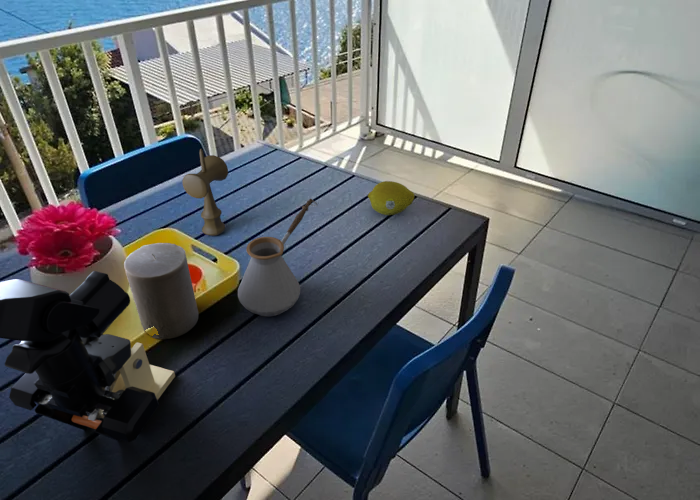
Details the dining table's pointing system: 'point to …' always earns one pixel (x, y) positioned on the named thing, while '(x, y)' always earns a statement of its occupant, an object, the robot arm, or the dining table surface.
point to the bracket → (142, 374)
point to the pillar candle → (162, 289)
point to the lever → (94, 418)
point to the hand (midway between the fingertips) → (103, 432)
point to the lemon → (390, 198)
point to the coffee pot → (270, 275)
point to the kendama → (207, 191)
